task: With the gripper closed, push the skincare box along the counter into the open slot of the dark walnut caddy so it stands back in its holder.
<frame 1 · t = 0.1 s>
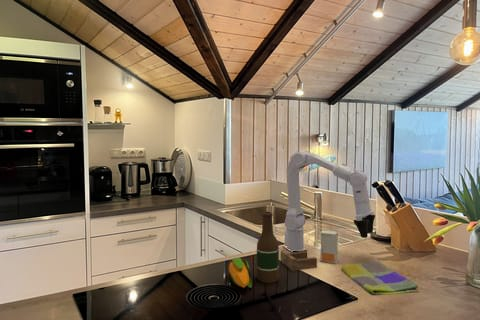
hand: (367, 235, 146), 11 cm above the countertop, tool pointing down, fingers open, 7 cm apart
dish towel: (376, 281, 128), on the countertop
caddy: (300, 264, 144), on the countertop
skincare box: (329, 261, 147), on the countertop
beer bottle: (268, 279, 130), on the countertop
corn: (241, 283, 127), on the countertop
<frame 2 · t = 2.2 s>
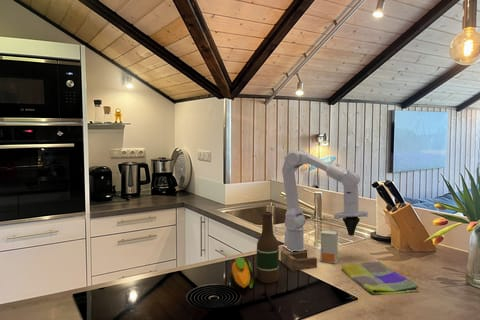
hand: (350, 235, 150), 10 cm above the countertop, tool pointing down, fingers closed
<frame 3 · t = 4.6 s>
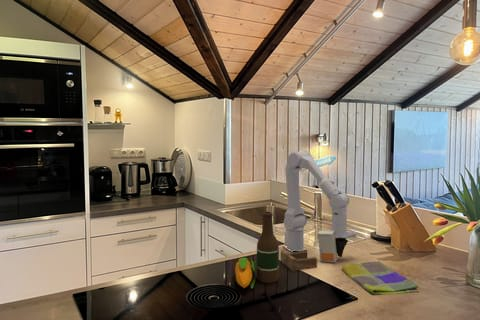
hand: (339, 256, 149), 2 cm above the countertop, tool pointing down, fingers closed
skincare box: (329, 260, 147), on the countertop, touching gripper
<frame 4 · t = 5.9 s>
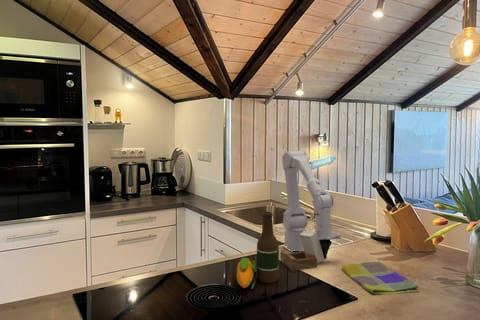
hand: (324, 258, 146), 2 cm above the countertop, tool pointing down, fingers closed, pressing on skincare box
skincare box: (315, 260, 147), point 1 cm above the countertop, touching caddy, gripper
beer bottle: (268, 279, 130), on the countertop, touching corn
corn: (246, 284, 126), on the countertop, touching beer bottle
everything else where it was.
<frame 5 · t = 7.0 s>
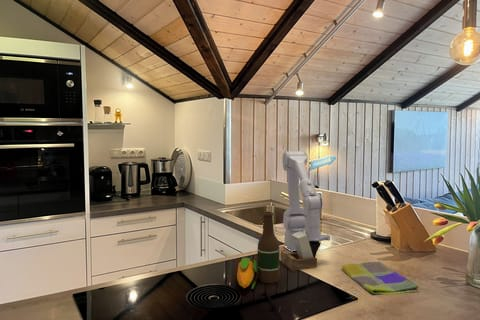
hand: (312, 259, 145), 1 cm above the countertop, tool pointing down, fingers closed, pressing on skincare box
skincare box: (307, 262, 145), on the countertop, touching caddy, gripper
everything else where it was.
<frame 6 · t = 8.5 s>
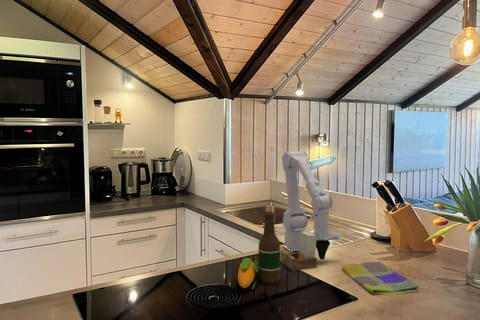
hand: (321, 258, 146), 1 cm above the countertop, tool pointing down, fingers closed
skincare box: (306, 263, 145), on the countertop
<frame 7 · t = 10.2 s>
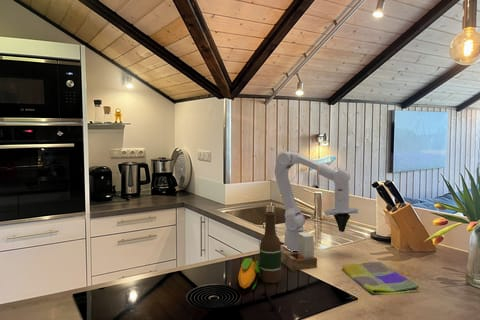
hand: (341, 231, 154), 10 cm above the countertop, tool pointing down, fingers closed
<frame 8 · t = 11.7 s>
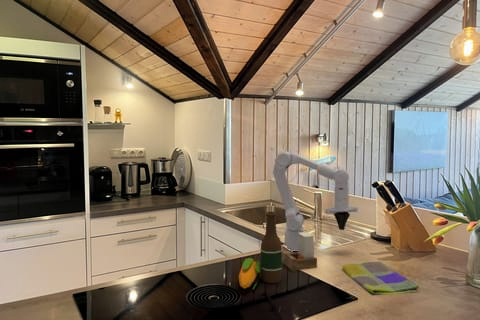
hand: (341, 229, 156), 10 cm above the countertop, tool pointing down, fingers closed
at the end: skincare box 2.6 cm from the target spot, on the countertop; skincare box tilted 0° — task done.
